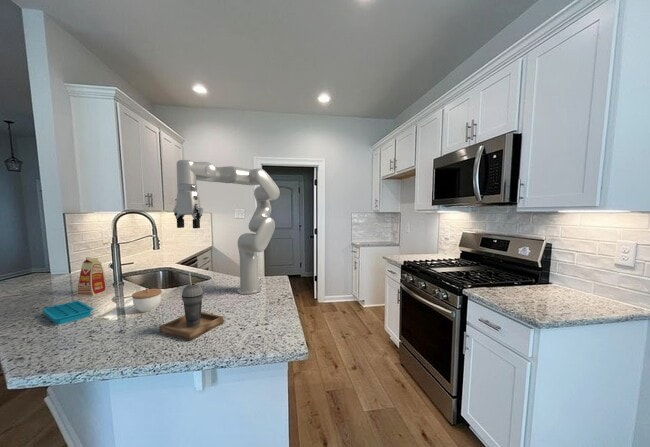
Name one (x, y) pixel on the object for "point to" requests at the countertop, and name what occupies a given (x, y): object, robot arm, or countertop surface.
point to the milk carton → (91, 278)
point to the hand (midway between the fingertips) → (188, 228)
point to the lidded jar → (147, 299)
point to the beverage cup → (192, 303)
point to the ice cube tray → (67, 312)
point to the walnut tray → (189, 333)
